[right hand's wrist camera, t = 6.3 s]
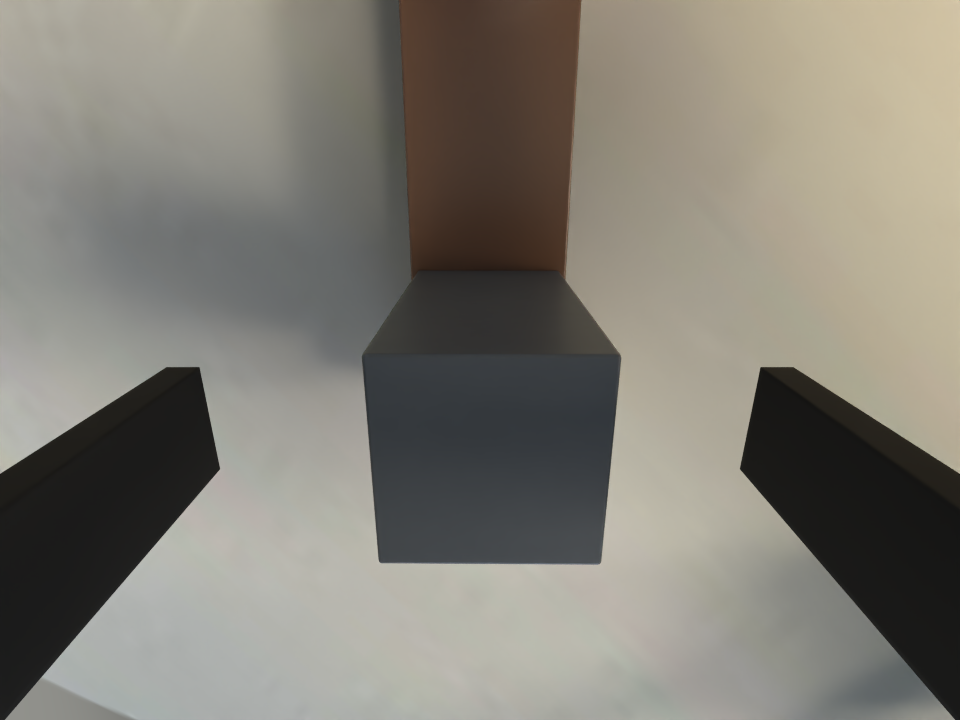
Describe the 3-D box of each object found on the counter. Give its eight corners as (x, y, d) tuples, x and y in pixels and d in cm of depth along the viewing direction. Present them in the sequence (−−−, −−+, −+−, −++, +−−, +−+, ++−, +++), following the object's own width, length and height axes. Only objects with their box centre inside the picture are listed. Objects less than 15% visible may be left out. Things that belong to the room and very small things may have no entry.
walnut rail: (573, -346, 17) (615, -595, 12) (541, 377, 26) (556, 434, 21) (408, -345, 17) (371, -593, 12) (432, 377, 26) (418, 433, 21)
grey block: (559, 270, 18) (622, 354, 10) (552, 399, 20) (601, 565, 12) (417, 269, 18) (360, 354, 10) (422, 398, 20) (378, 564, 12)
